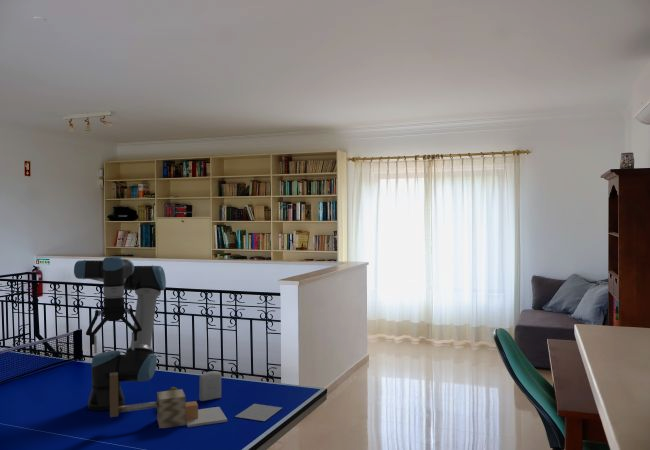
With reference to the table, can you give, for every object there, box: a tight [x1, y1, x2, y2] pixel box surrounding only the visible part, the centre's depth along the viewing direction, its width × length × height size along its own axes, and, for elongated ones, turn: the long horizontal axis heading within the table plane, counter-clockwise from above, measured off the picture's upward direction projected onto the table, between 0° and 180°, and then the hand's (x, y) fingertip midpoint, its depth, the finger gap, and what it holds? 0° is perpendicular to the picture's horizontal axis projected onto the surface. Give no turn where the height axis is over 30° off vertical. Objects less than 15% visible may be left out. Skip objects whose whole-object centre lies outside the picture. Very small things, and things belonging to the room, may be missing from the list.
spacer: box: [186, 400, 199, 420], centre depth 223 cm, size 5×5×6 cm
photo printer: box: [198, 370, 222, 402], centre depth 249 cm, size 10×4×12 cm, turn 123°
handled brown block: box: [109, 372, 159, 418], centre depth 217 cm, size 26×4×16 cm, turn 112°
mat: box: [185, 406, 228, 428], centre depth 226 cm, size 16×16×1 cm
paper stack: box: [234, 403, 283, 422], centre depth 237 cm, size 23×25×1 cm
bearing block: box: [156, 388, 187, 429], centre depth 220 cm, size 10×10×11 cm
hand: (114, 351), depth 213 cm, fingers open, 13 cm apart
